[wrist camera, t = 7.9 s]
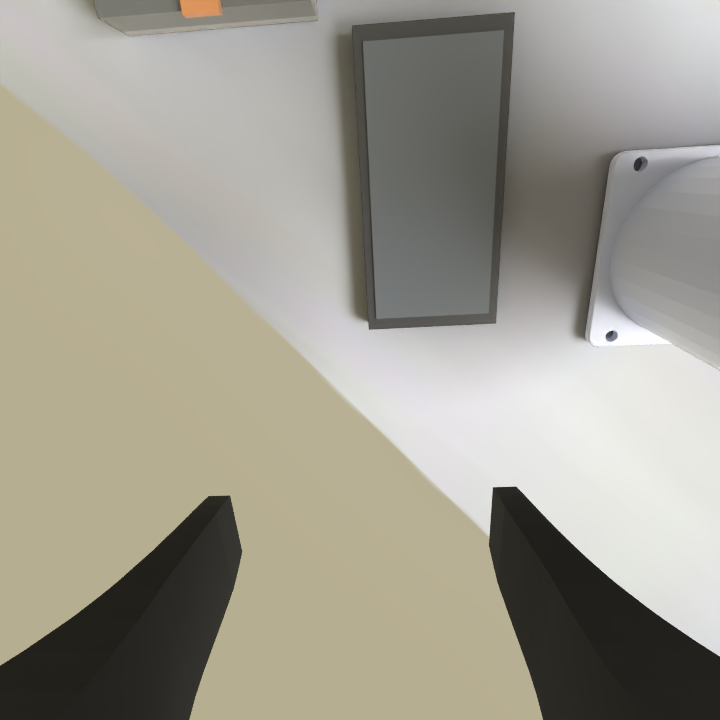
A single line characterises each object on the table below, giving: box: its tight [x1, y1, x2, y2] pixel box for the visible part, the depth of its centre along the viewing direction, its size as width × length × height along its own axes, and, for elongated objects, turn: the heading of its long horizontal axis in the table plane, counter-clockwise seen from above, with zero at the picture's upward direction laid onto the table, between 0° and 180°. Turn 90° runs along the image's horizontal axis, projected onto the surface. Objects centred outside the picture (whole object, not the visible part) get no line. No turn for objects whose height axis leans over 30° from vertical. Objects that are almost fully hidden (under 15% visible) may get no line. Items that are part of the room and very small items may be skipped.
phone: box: [352, 12, 515, 329], centre depth 17 cm, size 6×11×1 cm, turn 3°
